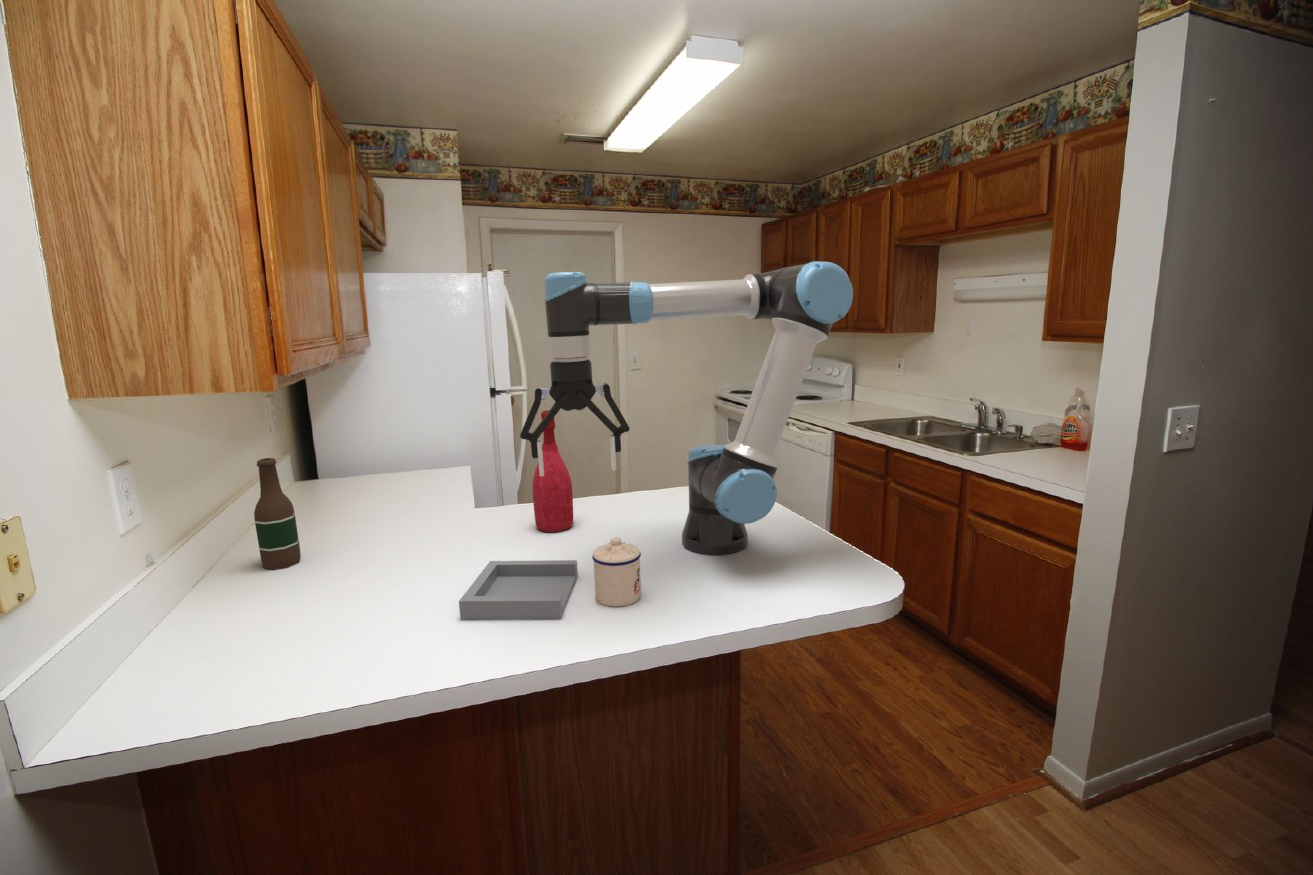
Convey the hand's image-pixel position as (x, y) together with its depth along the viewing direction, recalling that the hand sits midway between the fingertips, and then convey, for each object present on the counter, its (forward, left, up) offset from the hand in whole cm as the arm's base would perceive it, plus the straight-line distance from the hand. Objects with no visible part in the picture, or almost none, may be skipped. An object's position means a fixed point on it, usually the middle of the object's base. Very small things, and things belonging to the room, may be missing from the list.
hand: (578, 471), depth 116 cm
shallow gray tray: (+11, +4, -23) cm, 26 cm away
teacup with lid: (-7, +3, -24) cm, 25 cm away
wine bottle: (+13, -35, -24) cm, 44 cm away
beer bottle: (+70, -13, -24) cm, 75 cm away
